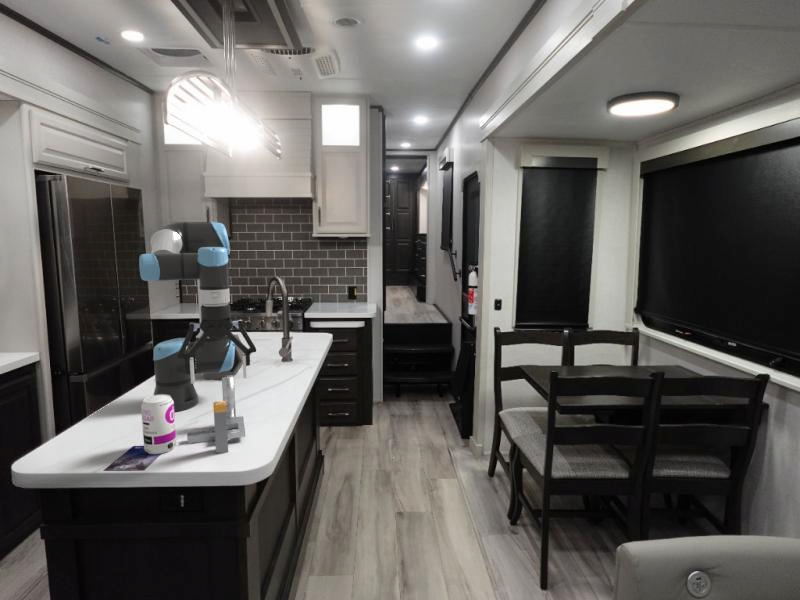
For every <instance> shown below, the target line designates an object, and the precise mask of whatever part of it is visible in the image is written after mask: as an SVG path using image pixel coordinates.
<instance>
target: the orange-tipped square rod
mask: <svg viewBox="0 0 800 600" xmlns="http://www.w3.org/2000/svg"><path fill="white" fill-rule="evenodd" d="M212 404H213V406H212V407H213V420H214V429H215V440H214V441H215V454H216V455H217V454H224V453H229V440H228V435H227V430H228V429H227V415H226V401H223V400H222V401H221V400H219V401H213V403H212Z"/></svg>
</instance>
